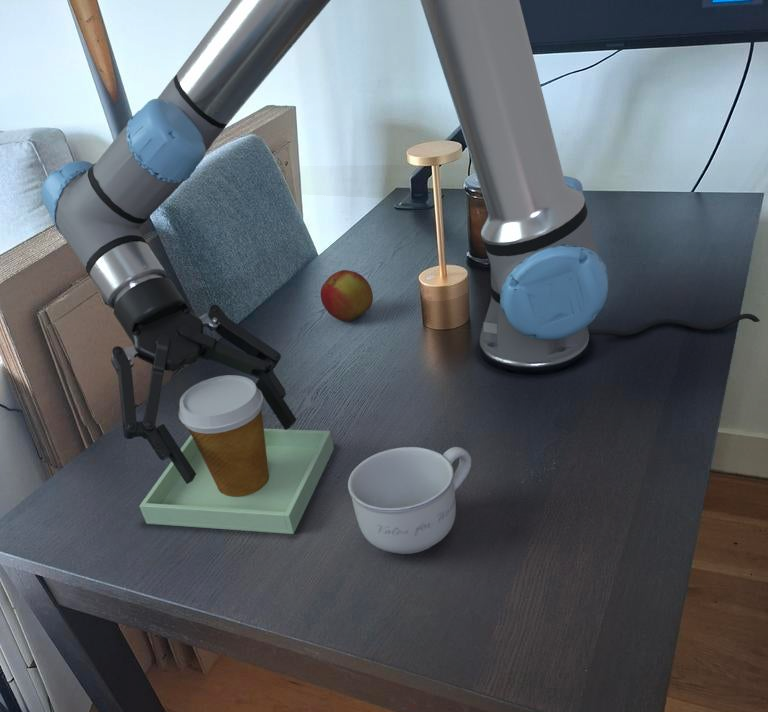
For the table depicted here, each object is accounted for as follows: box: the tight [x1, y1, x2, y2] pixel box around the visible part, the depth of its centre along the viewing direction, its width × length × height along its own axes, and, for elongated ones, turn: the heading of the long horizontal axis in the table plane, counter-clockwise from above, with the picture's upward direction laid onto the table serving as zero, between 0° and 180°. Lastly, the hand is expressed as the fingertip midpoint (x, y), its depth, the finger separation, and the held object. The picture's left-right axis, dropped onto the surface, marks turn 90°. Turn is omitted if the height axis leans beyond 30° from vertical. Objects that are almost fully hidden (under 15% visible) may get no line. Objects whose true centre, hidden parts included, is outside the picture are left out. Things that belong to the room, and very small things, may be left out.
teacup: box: [347, 446, 472, 555], centre depth 79 cm, size 14×11×8 cm
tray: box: [138, 428, 335, 535], centre depth 91 cm, size 18×16×3 cm
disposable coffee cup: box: [177, 374, 269, 497], centre depth 87 cm, size 10×10×12 cm
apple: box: [320, 269, 374, 323], centre depth 121 cm, size 8×8×8 cm
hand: (243, 451), depth 86 cm, fingers open, 13 cm apart
